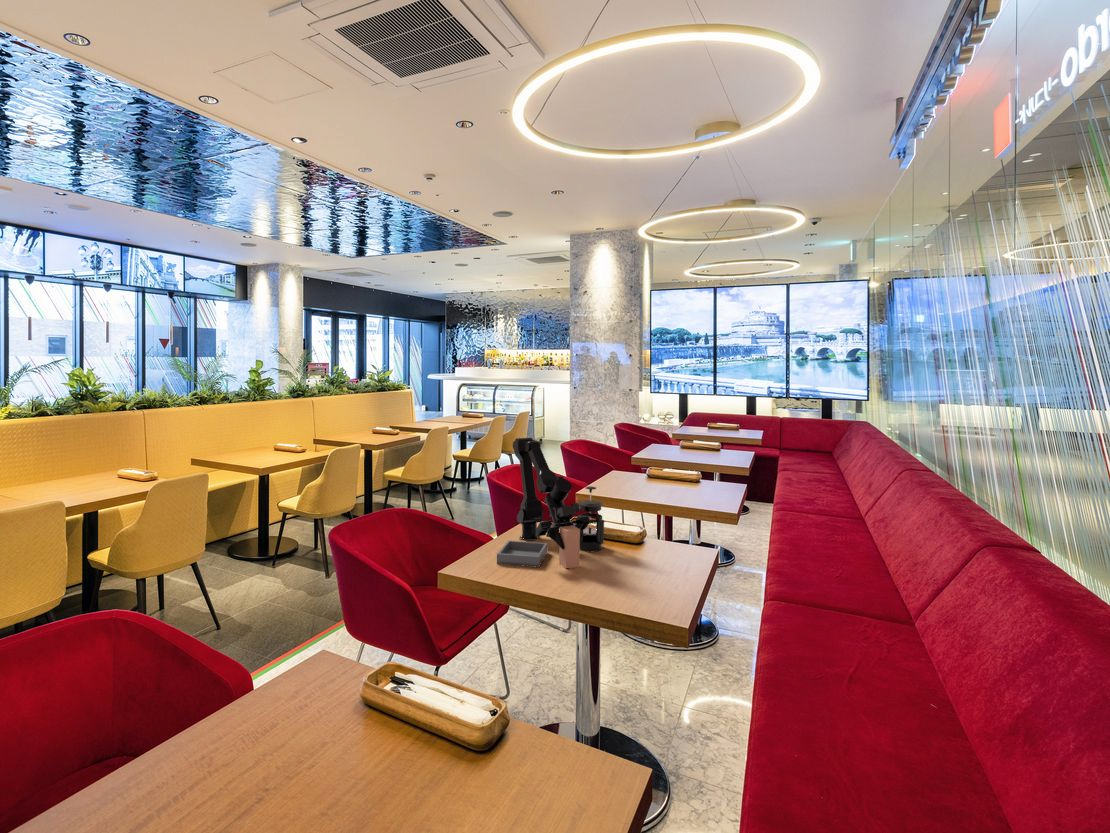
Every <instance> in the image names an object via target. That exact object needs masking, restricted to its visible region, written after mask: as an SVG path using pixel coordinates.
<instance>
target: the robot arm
mask: <svg viewBox="0 0 1110 833" xmlns="http://www.w3.org/2000/svg"><path fill="white" fill-rule="evenodd" d="M541 447H542V446H541V442H540V441H538V440H535V439H533V438H532V437H516V438H515V440H514V441H513V442H512V449H513V450H514V451H513V452H514V456H515V457H516V458H517V459H518V461H519V467H520V475H521V483H522V485H521V486H522V493H523V494H522V495H523V498H522V501H521V503H520V510H519V511H518V514H517V516H516V520H517V523H519V524H520V525H521V535H522V537H521V535H520V536H519V539H520V538H524V539H523V540H527V539H536V538H537V537H538V538H539V537H542V536H545V537H546V538H549V539H550V540H551V541H553V542H554V543H556V544H557V545H558V547H559V546H560V547H561V548H562V549H565V547H564V543H563V541H562V538H561V535H560V527H563V526H571V525H573V526H575V527H577V528H579V529H580V530H584V529H586V528H588V527H589V525H590V522H591V521H590V516H577V517H576V519H575V520H572V519H573V518H574V517H573V516H576V515H577V513H580V512H581V510H580V508H579V504H578V503H579V502H575V503H574V502H573V503H572V504H571V505H566V504H565V503H564V500H566V498H567V496H568V495H569V493H570V492H571V490H572V488H573V485H572V483H571V482H570V481H569V480H568V479H566V478H564V476H563V475H559V476H557V474H556V472H554V471H552V470H551V469H550V468H549V465H548V462H547V461H546V458H545V455H544V453H543V451H542V448H541ZM534 470H535V472H536V476H537V478H536V482H535V477H534ZM535 484H536V485H535ZM536 486H537V487H536ZM536 488H537V490H538V491H539V493H540V494H546V495H545V497H544V501H543V502H544V503H542V500H541V499H539V498H538V497H537V492H536ZM542 504H546V506H547V507H548V511H549V518H551V520H550V519H549V520H543V517H544V509H543V505H542ZM538 523H539V524H538ZM538 538H537V539H538ZM537 539H536V540H537Z"/></svg>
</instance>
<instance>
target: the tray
mask: <svg viewBox="0 0 1110 833" xmlns="http://www.w3.org/2000/svg"><path fill="white" fill-rule="evenodd" d="M546 553H547V554H548V543H546V542H534V541H533V542H532V541H519V540H507V541H506V542H505V543H504V545H503V546H502V547H501V548H500V550H499V551H498V552H497V553H496V564H497V565H504V564H510V565H509V566H517V565H524V566H523V567H529V566H536V567H535V568H540V566H541V564H542V563H541V562H543V561H544V559H545V558H546V556H547V554H546ZM545 555H546V556H545ZM543 558H544V559H543ZM542 560H543V561H542ZM540 563H541V564H540ZM539 565H540V566H539Z"/></svg>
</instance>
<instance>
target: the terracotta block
mask: <svg viewBox="0 0 1110 833" xmlns="http://www.w3.org/2000/svg"><path fill="white" fill-rule="evenodd" d="M559 533H560V535H561V538H562V541H563V543H564V547H565V549H562V548H561V547H560V546H559V545H558V547H559V550H558V551H559V554H558V556H559V558H558V564H559V565H560V566H561V565H562V566H563V568H564V569H565V568H569V569H574V568H573V567H575V568H580V550H579V547H580V529H579V528H577V527H575V526H573V525H571V526H563V527H560V529H559ZM562 566H561V567H562Z"/></svg>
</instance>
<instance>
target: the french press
mask: <svg viewBox="0 0 1110 833" xmlns="http://www.w3.org/2000/svg"><path fill="white" fill-rule="evenodd" d="M584 489H586V490H589V491H588V492H589V499H588V500H587V499H585V500H581V501H578V502H577V503H578V505H579V509H580V511H583V512H584V513H579V514H578V516H588V517H589V519H590V521H591V522H590V523H589V526H587V527H586V529H584V530H580V547H579V551H582V552H587V551H589V553H590V552H591V551H595V552H599V551H601V550H602V549H603V544H604V543H605V540H604V539H605V520H604V519H603V515H602V514H600V513H596V512H600V511H602V506H603V504H604V503H603V502H602V501H599V500H592V492H593V490H597V487H596V486H590V485H589V486H585V487H584ZM578 516H577V517H578ZM592 517H593V518H594V517H595V518H594V519H593V518H592ZM592 524H596V527H592V526H591V525H592Z"/></svg>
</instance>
